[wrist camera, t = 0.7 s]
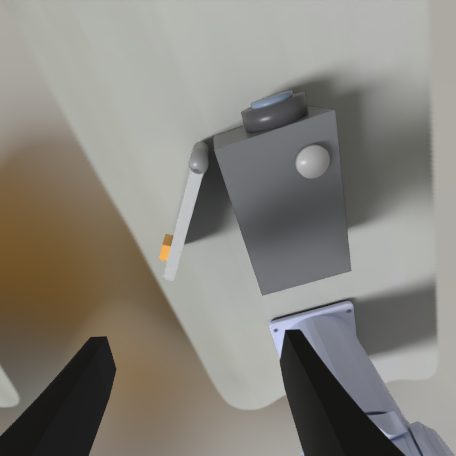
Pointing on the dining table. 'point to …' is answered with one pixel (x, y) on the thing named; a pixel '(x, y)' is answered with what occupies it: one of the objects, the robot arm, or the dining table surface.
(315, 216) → the camera body
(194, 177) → the side door
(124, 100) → the dining table surface
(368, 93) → the dining table surface
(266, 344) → the dining table surface
